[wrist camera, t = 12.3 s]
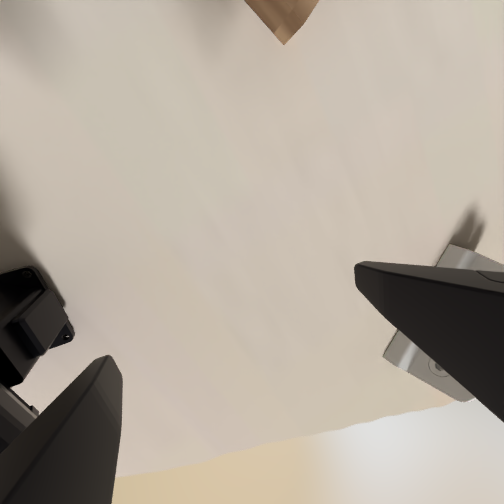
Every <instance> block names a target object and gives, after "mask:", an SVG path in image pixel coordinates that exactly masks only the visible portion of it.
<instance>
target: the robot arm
mask: <svg viewBox="0 0 504 504" xmlns="http://www.w3.org/2000/svg"><path fill="white" fill-rule="evenodd" d="M25 271H29V272H30V273H31V276H29V275H27V274H26V273H25ZM354 273H355V284H356V287H357V288H358V290H359V291H360V292H361V293H362V294H363V295H364V296H365V297H366V298H367V299H368V301H369V302H370V303H371V304H372V305H373V306H374V307H375V308H376V309H377V310H378V311H379V312H380V313H381V314H382V315H383V316H384V317H385V318H386V319H387V320H388V321H389V322H390V323H391V324H392V325H394V326H395V327H396V328H397V329H398V330H399V331H400V332H401V333H403V334H404V335H405V336H406V337H407V338H408V339H409V340H411V341H412V342H413V343H414V344H415V345H416V346H417V347H419V348H420V349H421V350H422V351H423V352H424V353H425V354H426V355H428V356H429V357H430V358H431V359H432V360H433V361H434V362H436V363H437V364H438V365H439V366H440V367H441V368H442V369H444V370H445V371H446V372H447V373H448V374H449V375H450V376H451V377H453V378H454V379H455V380H456V381H457V382H458V383H459V384H461V385H462V386H463V387H464V388H465V389H466V390H467V391H468V392H470V393H471V394H472V395H473V396H474V397H475V398H476V399H478V400H479V401H480V402H481V403H482V404H483V405H485V406H486V407H487V408H488V409H489V410H490V411H491V412H492V413H493V414H495V415H496V416H497V417H498V418H499V419H501V421H503V422H504V272H496V271H483V270H475V271H474V270H470V269H458V268H445V267H433V266H421V265H408V264H396V263H384V262H371V261H363V262H360V263H358V264H356V265H355V267H354ZM65 334H66V335H68V336H69V337H65V336H64V335H65ZM74 336H75V333H74V331H73V329H72V327H71V326H70V324H69V322H68V316H67V314H66V313H65V311H64V309H63V307H62V306H61V304H60V302H59V301H58V299H57V297H56V296H55V294H54V292H53V291H52V290H50V289H49V288H48V287H47V285H46V283H45V282H44V280H43V278H42V277H41V275H40V273H39V272H38V270H37V269H36V268H35V267H33V266H24V267H20V268H17V269H13V270H10V271H6V272H3V273H0V504H111V503H112V495H113V488H114V481H115V474H116V466H117V459H118V452H119V444H120V437H121V426H122V388H123V379H122V375H121V372H120V370H119V369H118V367H117V365H116V363H115V361H114V360H113V358H112V357H111V356H110V355H105V356H103V357H100V358H97V359H95V360H94V361H93V362H92V363H91V364H90V365H89V366H88V367H87V368H86V369H85V370H84V371H83V372H82V373H81V374H80V375H79V376H78V377H77V378H76V379H75V380H74V381H73V382H72V383H71V384H70V385H69V386H68V387H67V388H66V389H65V390H64V391H63V392H62V393H61V394H60V395H59V396H58V397H57V398H56V399H55V400H54V401H53V402H52V403H51V404H50V405H49V406H48V407H47V408H46V409H45V410H44V411H43V412H42V413H41V414H40V415H39V411H38V410H37V409H36V408H35V407H34V406H29V405H28V404H27V403H26V402H25V401H24V400H23V399H21V398H20V397H19V396H18V395H17V394H16V393H15V392H14V391H13V390H12V389H11V388H12V386H15V385H18V384H20V383H22V382H23V381H24V379H25V378H26V376H27V375H28V373H29V372H30V371H31V369H32V368H33V366H34V365H35V363H36V362H37V360H38V359H39V357H40V356H43V355H44V354H45V353H46V352H47V350H48V349H51V348H54V347H57V346H60V345H63V344H66V343H68V342H70V341H72V339H73V338H74Z"/></svg>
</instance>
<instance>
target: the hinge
mask: <svg viewBox="0 0 504 504" xmlns="http://www.w3.org/2000/svg"><path fill="white" fill-rule="evenodd" d="M436 267H445V268H458V269H470V270H474V271H475V270H483V271H496V272H504V265H503V264H501V263H498V262H496V261H494V260H492V259H489V258H487V257H485V256H483V255H481V254H478V253H476V252H474V251H472V250H469V249H465V248H461V247H458V246H455V245H452V244H449V245H448V247H447V249H446V250H445V252H444V254H443V255H442V257H441V259H440V261H439V262H438V264H437V266H436ZM383 357H384V358H385V359H386V360H388V361H389V362H390V363H392V364H393V365H395V366H396V367H398V368H400V369H402V370H404V371H406V372H408V373H410V374H412V375H413V376H415V377H417V378H419V379H420V380H422V381H424V382H425V383H427V384H429V385H431V386H432V387H434V388H436V389H438V390H439V391H441V392H443V393H445V394H446V395H448V396H450V397H452V398H453V399H455V400H457V401H460V402H470V401H472V400H475V399H476V398H475V397H474V396H473V395H472V394H471V393H470V392H468V391H467V390H466V389H465V388H464V387H463V386H462V385H461V384H459V383H458V382H457V381H456V380H455V379H454V378H453V377H451V376H450V375H449V374H448V373H447V372H446V371H445V370H444V369H442V368H441V367H440V366H439V365H438V364H437V363H436V362H434V361H433V360H432V359H431V358H430V357H429V356H428V355H426V354H425V353H424V352H423V351H422V350H421V349H420V348H419V347H417V346H416V345H415V344H414V343H413V342H412V341H411V340H409V339H408V338H407V337H406V336H405V335H404V334H403V333H401V332H400V331H399V330H398V332H397V334H396V335H395V337H394V339H393V340H392V342H391V344H390V345H389V347H388V349H387V351H386V352H385V354H384V356H383Z"/></svg>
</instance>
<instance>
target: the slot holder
mask: <svg viewBox="0 0 504 504" xmlns="http://www.w3.org/2000/svg"><path fill="white" fill-rule="evenodd" d="M318 1H319V0H245V2H246V3H247V4H248V5H249V6H250V7H251V8H252V9H253V11H254V12H255V13H256V14H257V15H258V16H259V17H260V19H261V20H262V21H263V22H264V23H265V24H266V25H267V27H268V28H269V29H270V30H271V31H272V32H273V33H274V35H275V36H276V37H277V38H278V39H279V40H280V41H281V42H282V44H283V45H285V44H286V42H287V41H288V40H289V39H290V38H291V37H292V36H293V35H294V34H295V33H296V32H297V31H298V30H299V29H300V28H301V26H302V25H303V24H304V23H305V21H306V20H307V18H308V17H309V15H310V14H311V12H312V11H313V9H314V7H315V6H316V4H317V3H318Z"/></svg>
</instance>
